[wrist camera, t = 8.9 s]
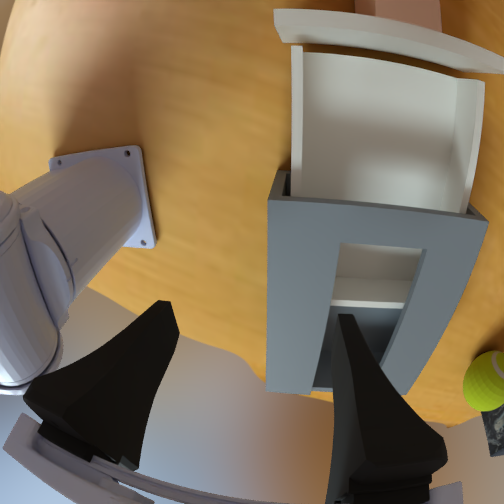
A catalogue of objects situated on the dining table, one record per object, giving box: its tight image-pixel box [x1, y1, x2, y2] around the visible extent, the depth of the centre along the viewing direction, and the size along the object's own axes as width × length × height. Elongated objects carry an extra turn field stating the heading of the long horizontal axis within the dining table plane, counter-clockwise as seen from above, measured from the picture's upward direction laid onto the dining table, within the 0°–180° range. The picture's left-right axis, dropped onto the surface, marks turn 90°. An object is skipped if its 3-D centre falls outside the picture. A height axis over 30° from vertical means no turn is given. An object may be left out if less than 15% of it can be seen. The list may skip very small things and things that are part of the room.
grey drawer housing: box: [266, 170, 489, 395], centre depth 19 cm, size 12×16×5 cm
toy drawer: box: [274, 0, 504, 309], centre depth 13 cm, size 11×21×5 cm, turn 2°
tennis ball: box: [463, 351, 504, 411], centre depth 21 cm, size 7×7×7 cm
